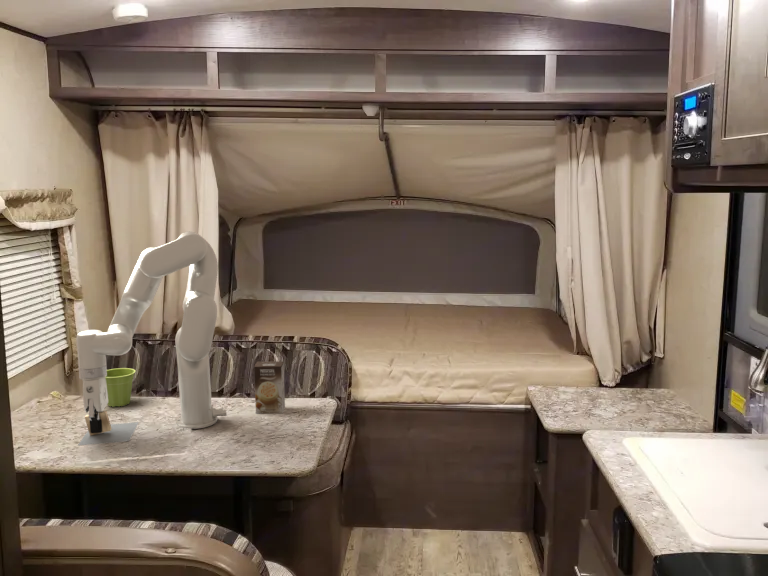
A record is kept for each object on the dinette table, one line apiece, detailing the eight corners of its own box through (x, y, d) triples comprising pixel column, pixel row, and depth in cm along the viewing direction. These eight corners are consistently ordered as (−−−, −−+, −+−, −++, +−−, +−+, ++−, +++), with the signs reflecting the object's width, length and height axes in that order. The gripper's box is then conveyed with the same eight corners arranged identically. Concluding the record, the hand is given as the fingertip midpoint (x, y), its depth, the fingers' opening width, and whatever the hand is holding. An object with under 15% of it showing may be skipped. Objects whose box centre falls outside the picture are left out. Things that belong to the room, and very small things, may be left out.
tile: (91, 433, 198) (111, 428, 199) (90, 435, 196) (110, 430, 197) (86, 415, 197) (106, 410, 198) (84, 416, 195) (105, 412, 196)
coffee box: (254, 414, 214) (252, 366, 212) (258, 407, 221) (256, 361, 218) (283, 413, 214) (281, 366, 212) (285, 407, 221) (283, 360, 218)
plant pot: (124, 410, 220) (122, 378, 218) (93, 408, 222) (90, 376, 221) (144, 399, 231) (142, 368, 229) (114, 397, 234) (112, 366, 232)
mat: (138, 423, 207) (138, 422, 207) (129, 443, 192) (129, 441, 192) (91, 427, 205) (91, 425, 205) (77, 447, 189) (77, 445, 189)
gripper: (100, 378, 188) (104, 440, 190) (112, 364, 203) (115, 421, 205) (72, 380, 186) (77, 442, 189) (86, 365, 201) (90, 423, 204)
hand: (97, 431), depth 197 cm, fingers closed on tile, 1 cm apart
